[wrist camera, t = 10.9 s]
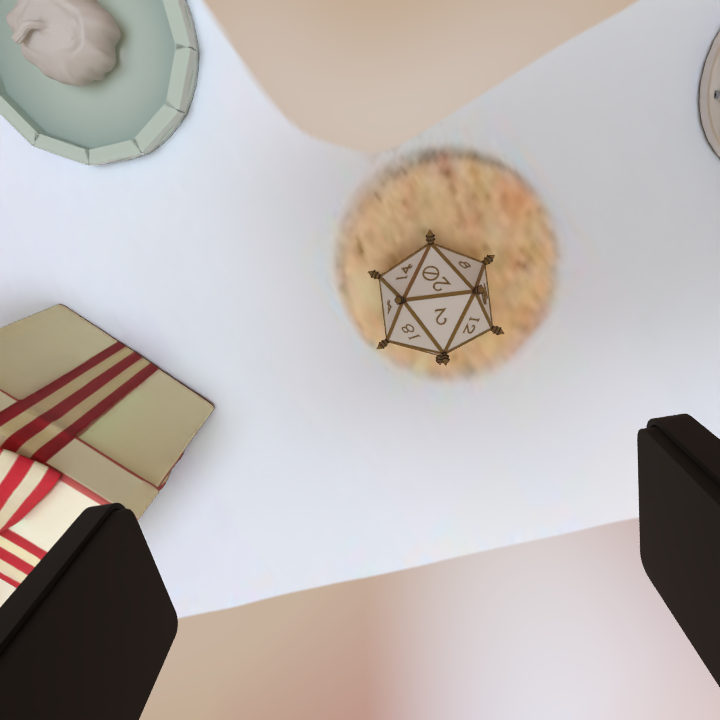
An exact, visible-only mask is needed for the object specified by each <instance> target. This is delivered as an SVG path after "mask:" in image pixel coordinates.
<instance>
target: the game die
mask: <svg viewBox="0 0 720 720" xmlns="http://www.w3.org/2000/svg"><path fill="white" fill-rule="evenodd" d="M434 236H435V235H434V234H433V233H432V232H431V230H429V232H428V234H427V235H426V237H427V239H426V241H427V242H428V244H427V245H425V246H424V247H422V248H421V249H419V250H418V251H416V252H415V253H413V254H412V255H410V256H409V257H407V258H406V259H404V260H403V261H401V262H400V263H398V264H397V265H395V266H394V267H392V268H391V269H389V270H388V271H386V272H385V273H383V274H382V275H380V274H379V273H378V272H376V271H375V270H374V271H369V272H368V273H369V274H370V276H371V278H372V277H373V278H374V279H379V282H380V291H381V300H382V308H383V317H384V325H385V334H386V339H385V340H382V341H381V342H379V345H378V347H377V349H382V348H383V349H384V347H387V344H388V343H393V344H397V345H400V346H404V347H408V348H412V349H415V350H419V351H423V352H426V353H430V354H434V355H437V357H436V362H437V363H439V365H441V363H444V364H445V365H447V363H448V362H449V360H450V359H449V358H448V357H449V355H447V353H449V352H451V351H453V350H455V349H457V348H458V347H460V346H462V345H464V344H466V343H468V342H470V341H471V340H473V339H475V338H477V337H479V336H481V335H483V334H484V333H486V332H488V331H492V332H494V333H495V334H497V335H499V334H504V332H503V331H502V329H501V327H500V328H499V327H498V326H496V327H495V326H493V324H492V315H491V307H490V299H489V290H488V282H487V273H486V265H487V264H490V262H493V258H494V256H495V255H487V257H486V258H484V260H483V261H479V260H477V259H474V258H471V257H469V256H466V255H463V254H461V253H458V252H455V251H453V250H450V249H447V248H445V247H442V246H439V245H437V244H434V243H433V242H434V240H435V238H434Z"/></svg>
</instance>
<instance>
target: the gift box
mask: <svg viewBox="0 0 720 720" xmlns="http://www.w3.org/2000/svg"><path fill="white" fill-rule="evenodd" d="M213 410H214V408H213V406H212V405H211V404H210V403H208V402H207V401H206V400H204V399H203V398H201V397H200V396H199V395H197V394H196V393H194V392H193V391H191V390H190V389H188V388H187V387H185V386H184V385H182V384H181V383H179V382H178V381H176V380H175V379H173V378H172V377H170V376H169V375H167V374H166V373H164V372H163V371H161V370H160V369H158V368H157V367H156V366H154V365H153V364H152V363H150V362H149V361H147V360H146V359H144V358H142V357H141V356H140V355H138V354H137V353H135V352H134V351H132V350H131V349H129V348H127V347H126V346H124V345H123V344H121V343H120V342H118V341H116V340H115V339H113V338H112V337H110V336H109V335H107V334H106V333H105V332H103V331H102V330H100V329H98V328H97V327H95V326H94V325H92V324H91V323H89V322H88V321H86V320H85V319H83V318H82V317H80V316H79V315H77V314H76V313H74V312H73V311H71V310H70V309H68V308H67V307H65V306H63V305H61V304H58V305H55V306H53V307H51V308H48V309H46V310H43V311H41V312H38V313H36V314H33V315H31V316H29V317H26V318H24V319H21V320H19V321H16V322H14V323H11V324H9V325H7V326H4V327H2V328H0V607H1V606H2V605H3V603H4V602H5V601H6V600H7V599H8V598H9V596H10V595H11V594H12V593H13V592H14V591H15V589H16V588H17V587H18V586H19V585H20V584H21V582H22V581H23V580H24V579H25V578H26V577H27V576H28V574H29V573H30V572H31V571H32V570H33V569H34V567H35V566H36V565H37V564H38V563H39V562H40V560H41V559H42V558H43V557H44V556H45V555H46V553H47V552H48V551H49V550H50V549H51V548H52V547H53V545H54V544H55V543H56V542H57V541H58V540H59V538H60V537H61V536H62V535H63V534H64V533H65V531H66V530H67V529H68V528H69V527H70V526H71V524H72V523H73V522H74V521H75V520H76V519H77V517H78V516H79V515H80V514H81V513H82V512H83V511H84V510H85V509H86V508H88V507H91V506H98V505H104V504H111V503H121V504H122V505H123V506H125V508H126V509H131V510H132V511H133V513H134V514H135V516H136V519H137V521H138V519H139V518H140V517H141V515H142V514H143V513H144V511H145V510H146V509H147V507H148V506H149V505H150V503H151V502H152V501H153V499H154V498H155V497H156V495H157V494H158V493H159V490H160V489H162V488H163V486H164V485H165V483H166V481H167V479H168V477H169V474H170V471H171V470H172V468H173V467H174V465H175V464H176V463H177V462H178V461H179V460H180V459H181V457H182V455H183V453H184V449H185V448H186V447H187V445H188V444H189V442H190V441H191V440H192V438H193V437H194V436H195V434H196V433H197V431H198V430H199V429H200V427H201V426H202V425H203V423H204V422H205V420H206V419H207V418H208V416H209V415H210V414H211V412H212V411H213Z"/></svg>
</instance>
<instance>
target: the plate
mask: <svg viewBox="0 0 720 720" xmlns="http://www.w3.org/2000/svg"><path fill="white" fill-rule="evenodd" d="M97 1H98V2H99V4H100V6H101V7H102V8H103V9H105V10H106V11H107V12H108V13H109V14H110V15H111V16H112V17H113V18H114V19H115V21H116V23H117V25H118V27H119V29H120V34H121V36H120V39H119V41H118V43H117V44H116V46H115V54H116V64H115V66H114V67H113V69H112V70H110V71H109V72H107V73H105V78H104V79H103V80H101V81H98V80H94V81H93V82H91V83H89V84H88V85H86V86H74V85H67V84H63V83H61V82H59V81H57V80H54V79H51V78H49V77H47V76H45V75H44V74H43V73H42V72H41V70H40V69H39V68H38V67H37V66H35V65H33V64H32V63H30V62H29V61H27V60H26V59H25V57H24V56H23V55H22V52H21V45H20V44H16V43H15V42H14V41H13V39H12V34H13V33H14V32H13V31H12V30H11V29H10V27H9V25H8V23H7V21H6V15H7V14H8V13H9V12H10V11H11V10H12V9H13V8H14V6H15V4H16V3H17V0H0V114H1V115H2V116H3V117H4V118H5V119H6V120H7V121H8V122H9V123H10V124H11V125H12V126H13V127H14V128H15V129H16V130H17V131H18V132H19V133H20V134H21V135H22V136H23V137H24V138H25V139H26V140H27V141H28V142H29V143H30V144H31V145H33V146H34V147H37V148H39V149H42V150H45V151H48V152H51V153H54V154H57V155H60V156H63V157H66V158H69V159H72V160H75V161H78V162H81V163H84V164H86V165H102V164H106V163H110V162H121V161H128V160H132V159H135V158H138V157H141V156H143V155H145V154H148V153H150V152H151V151H153V150H154V149H156V148H157V147H159V146H160V145H162V144H163V143H164V142H165V141H166V140H167V139H168V138H169V137H170V136H171V135H172V134H173V133H174V132H175V130H176V129H177V128H178V127H179V125H180V124H181V122H182V120H183V119H184V117H185V115H186V113H187V111H188V109H189V107H190V104H191V102H192V99H193V95H194V91H195V88H196V83H197V75H198V44H197V36H196V31H195V27H194V22H193V19H192V15H191V12H190V9H189V6H188V4H187V1H186V0H97Z"/></svg>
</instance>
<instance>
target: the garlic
mask: <svg viewBox="0 0 720 720" xmlns="http://www.w3.org/2000/svg"><path fill="white" fill-rule="evenodd" d="M6 21H7V23H8V25H9V27H10V29H11V30H12V31H13V32H14V33H13V34H12V39H13V41H14V42H15V43H16V44H20V45H21V52H22V55H23V56H24V57H25V59H26V60H27V61H29V62H30V63H32V64H33V65H35V66H37V67H38V68H39V69H40V70H41V72H42V73H43V74H44V75H45V76H47V77H49V78H51V79H54V80H57V81H59V82H61V83H63V84H67V85H74V86H86V85H88V84H89V83H91V82H93V81H94V80H98V81H101V80H103V79H104V78H105V73H107V72H109V71H110V70H112V69H113V67H114V66H115V64H116V54H115V46H116V44H117V43H118V41H119V39H120V36H121V34H120V29H119V27H118V25H117V23H116V21H115V19H114V18H113V17H112V16H111V15H110V14H109V13H108V12H107V11H106V10H105V9H103V8H102V7H101V6H100V4H99V2H98V1H97V0H17V3H16V4H15V6H14V8H13V9H12V10H11V11H10V12H9V13H8V14H7V15H6Z"/></svg>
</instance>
